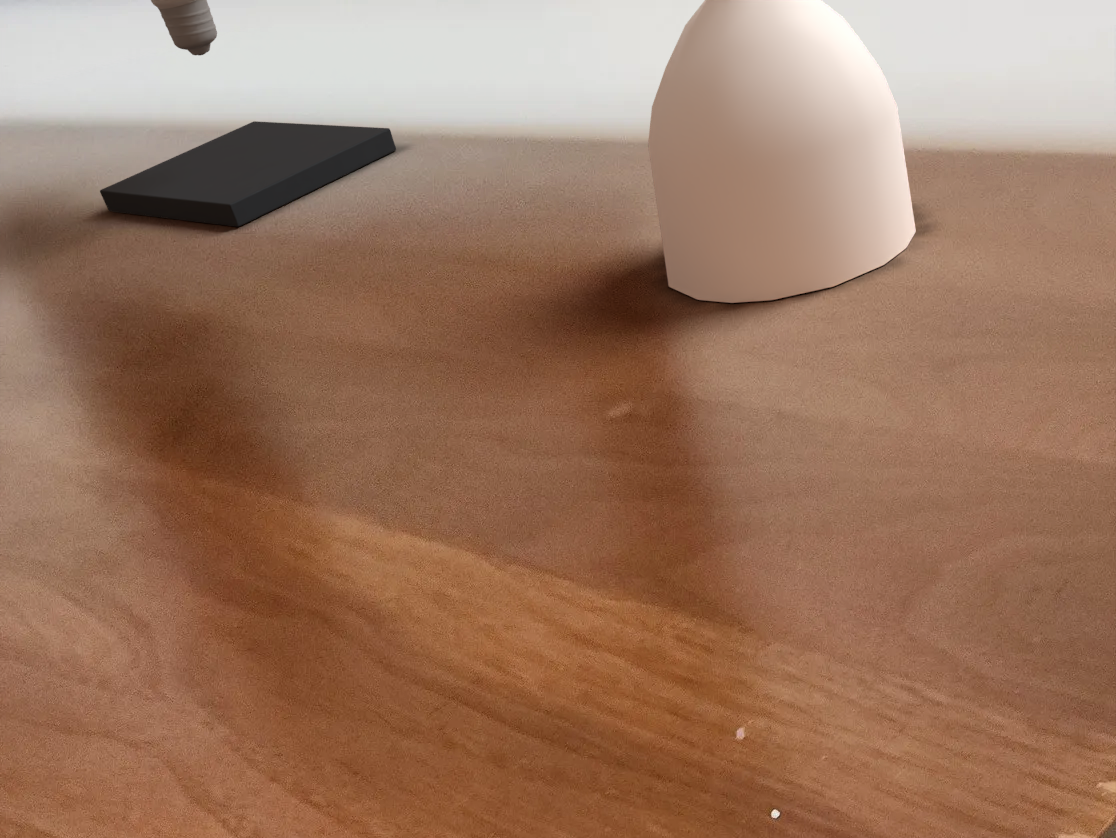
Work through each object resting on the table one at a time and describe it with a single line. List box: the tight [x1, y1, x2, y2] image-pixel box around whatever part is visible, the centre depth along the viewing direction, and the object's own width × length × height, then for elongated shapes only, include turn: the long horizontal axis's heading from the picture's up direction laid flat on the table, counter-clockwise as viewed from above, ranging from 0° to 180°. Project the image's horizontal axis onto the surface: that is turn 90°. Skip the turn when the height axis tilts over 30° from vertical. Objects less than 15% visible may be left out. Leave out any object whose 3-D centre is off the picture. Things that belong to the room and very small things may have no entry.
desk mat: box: [99, 120, 397, 228], centre depth 86 cm, size 14×12×1 cm
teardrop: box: [647, 0, 917, 304], centre depth 58 cm, size 11×11×12 cm
